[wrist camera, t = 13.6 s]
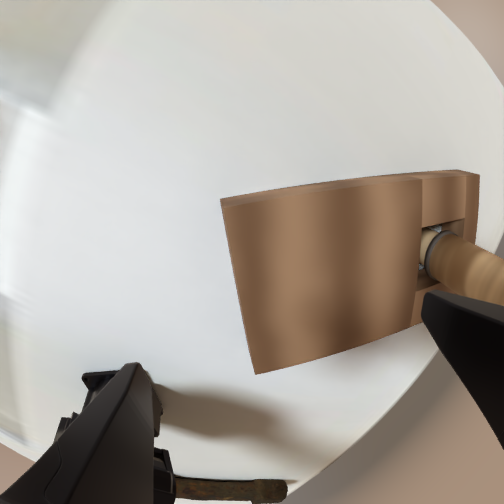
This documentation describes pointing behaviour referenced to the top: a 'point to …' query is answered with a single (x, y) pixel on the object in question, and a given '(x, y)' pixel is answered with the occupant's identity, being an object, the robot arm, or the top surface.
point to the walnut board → (339, 259)
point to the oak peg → (462, 266)
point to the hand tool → (233, 490)
